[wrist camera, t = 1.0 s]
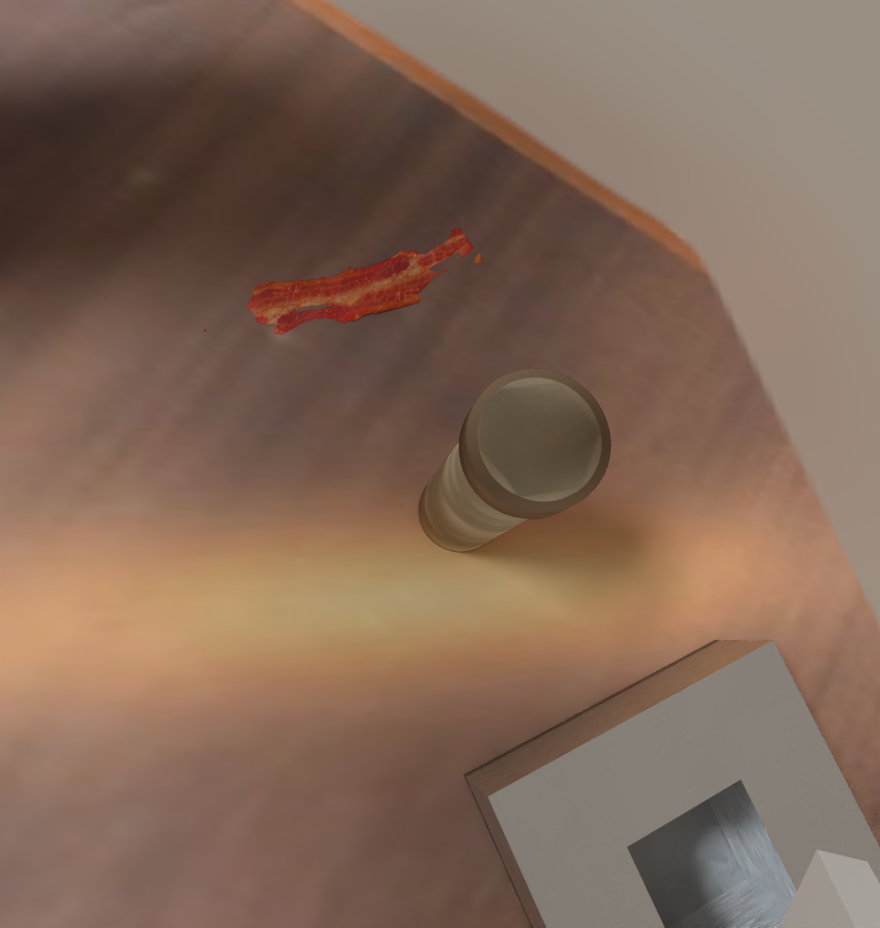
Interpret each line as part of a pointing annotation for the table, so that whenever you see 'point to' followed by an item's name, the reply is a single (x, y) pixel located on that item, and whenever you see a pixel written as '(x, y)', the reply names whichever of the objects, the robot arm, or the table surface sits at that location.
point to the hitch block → (674, 801)
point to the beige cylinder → (517, 459)
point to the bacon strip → (354, 288)
